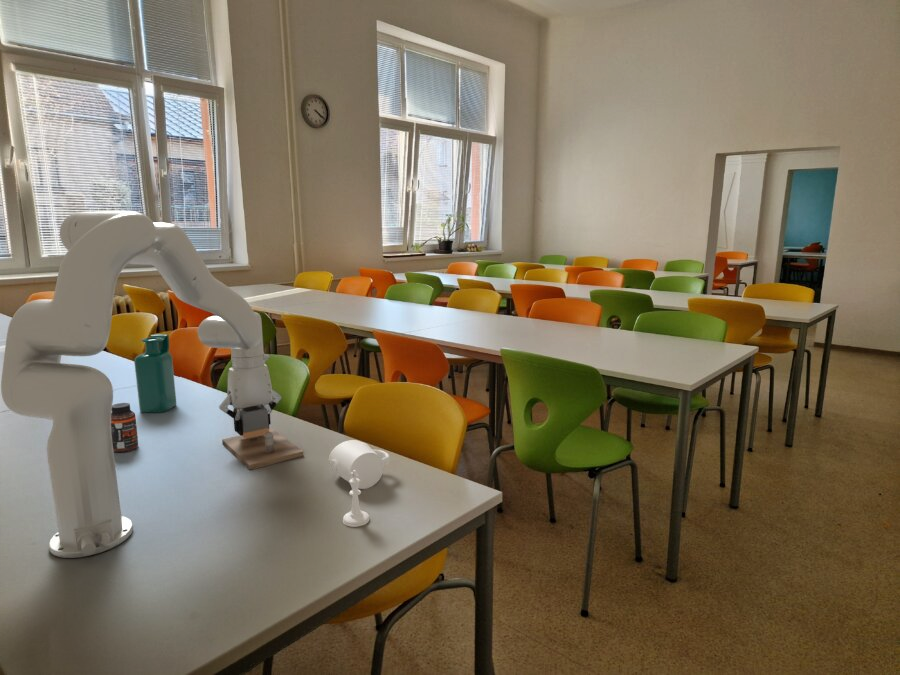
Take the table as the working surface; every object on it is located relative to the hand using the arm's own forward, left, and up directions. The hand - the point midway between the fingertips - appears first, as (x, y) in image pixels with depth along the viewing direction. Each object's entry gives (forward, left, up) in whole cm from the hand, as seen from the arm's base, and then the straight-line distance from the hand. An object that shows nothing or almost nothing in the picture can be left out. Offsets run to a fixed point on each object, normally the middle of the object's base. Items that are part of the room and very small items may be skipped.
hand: (253, 430), depth 145 cm
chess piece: (-50, -2, -4) cm, 51 cm away
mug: (-35, -12, -4) cm, 38 cm away
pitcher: (+47, +12, -4) cm, 48 cm away
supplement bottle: (+17, +26, -4) cm, 31 cm away
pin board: (-5, 0, -4) cm, 7 cm away
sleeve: (0, 0, -1) cm, 1 cm away
